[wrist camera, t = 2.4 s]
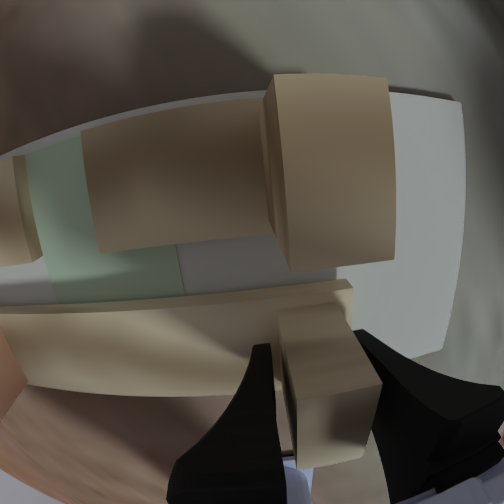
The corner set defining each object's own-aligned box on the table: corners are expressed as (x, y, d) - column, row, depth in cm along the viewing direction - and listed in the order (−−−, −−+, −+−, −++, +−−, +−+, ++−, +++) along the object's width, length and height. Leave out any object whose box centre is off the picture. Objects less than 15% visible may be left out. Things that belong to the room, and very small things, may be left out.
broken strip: (343, 220, 12) (420, 275, 6) (-49, 270, 12) (-105, 307, 6) (335, 99, 11) (414, 61, 5) (-64, 198, 10) (-126, 222, 5)
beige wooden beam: (340, 366, 14) (379, 458, 8) (-12, 366, 14) (-52, 415, 8) (345, 278, 13) (410, 363, 7) (-40, 306, 12) (-91, 349, 7)
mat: (438, 345, 15) (442, 350, 15) (-8, 369, 15) (-11, 373, 15) (456, 103, 11) (462, 102, 10) (-66, 193, 11) (-71, 194, 10)
